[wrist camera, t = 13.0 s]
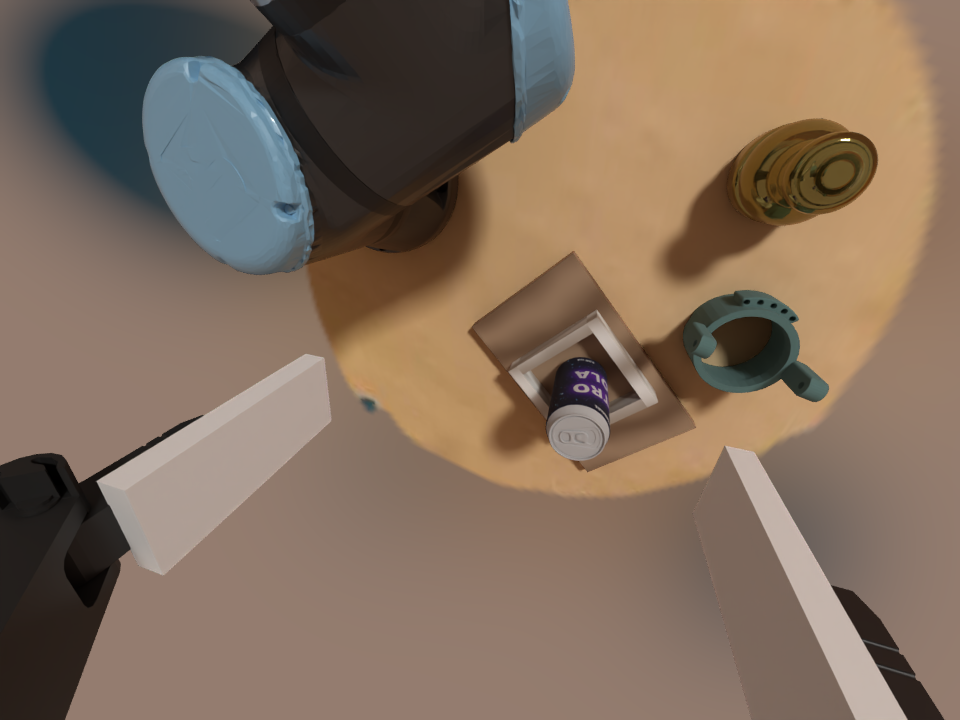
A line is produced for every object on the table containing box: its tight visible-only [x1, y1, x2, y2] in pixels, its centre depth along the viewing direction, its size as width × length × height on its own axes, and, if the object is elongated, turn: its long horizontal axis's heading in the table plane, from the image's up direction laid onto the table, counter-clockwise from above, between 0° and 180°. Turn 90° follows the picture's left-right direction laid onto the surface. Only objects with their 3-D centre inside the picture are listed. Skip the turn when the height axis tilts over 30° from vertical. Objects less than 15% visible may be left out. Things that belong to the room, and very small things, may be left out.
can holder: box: [472, 251, 696, 472], centre depth 43 cm, size 24×14×4 cm, turn 40°
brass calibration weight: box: [727, 119, 878, 226], centre depth 29 cm, size 7×7×10 cm
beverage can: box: [546, 357, 610, 461], centre depth 39 cm, size 6×6×12 cm
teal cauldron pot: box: [683, 290, 829, 402], centre depth 35 cm, size 9×9×9 cm
